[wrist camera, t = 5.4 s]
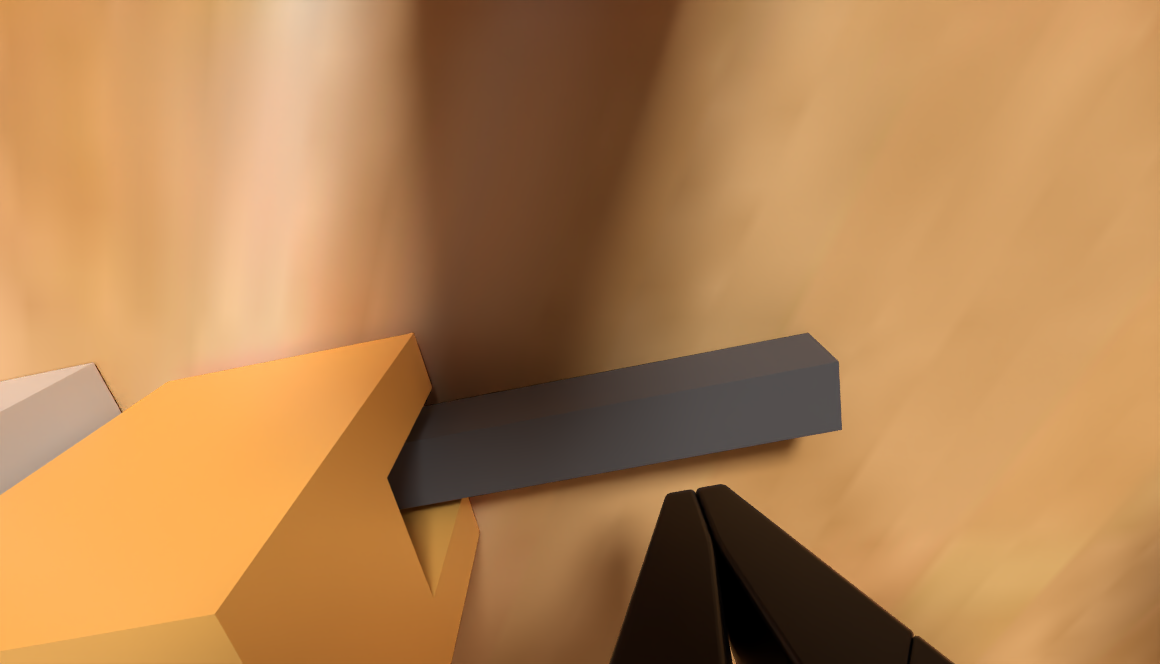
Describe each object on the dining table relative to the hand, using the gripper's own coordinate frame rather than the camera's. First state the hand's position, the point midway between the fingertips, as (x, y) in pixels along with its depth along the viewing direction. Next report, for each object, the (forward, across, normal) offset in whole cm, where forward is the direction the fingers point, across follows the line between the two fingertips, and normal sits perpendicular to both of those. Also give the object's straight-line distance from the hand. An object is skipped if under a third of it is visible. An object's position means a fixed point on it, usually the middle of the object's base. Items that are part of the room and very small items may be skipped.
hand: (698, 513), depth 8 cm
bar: (+4, +5, 0) cm, 7 cm away
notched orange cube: (+4, +7, 0) cm, 8 cm away
